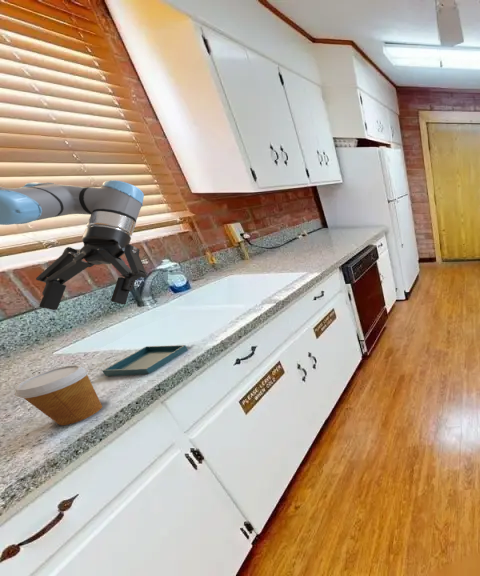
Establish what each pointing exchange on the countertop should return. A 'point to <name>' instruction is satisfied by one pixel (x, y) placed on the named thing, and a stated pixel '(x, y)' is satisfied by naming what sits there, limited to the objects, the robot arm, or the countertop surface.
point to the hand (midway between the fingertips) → (83, 305)
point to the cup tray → (145, 360)
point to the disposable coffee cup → (61, 394)
